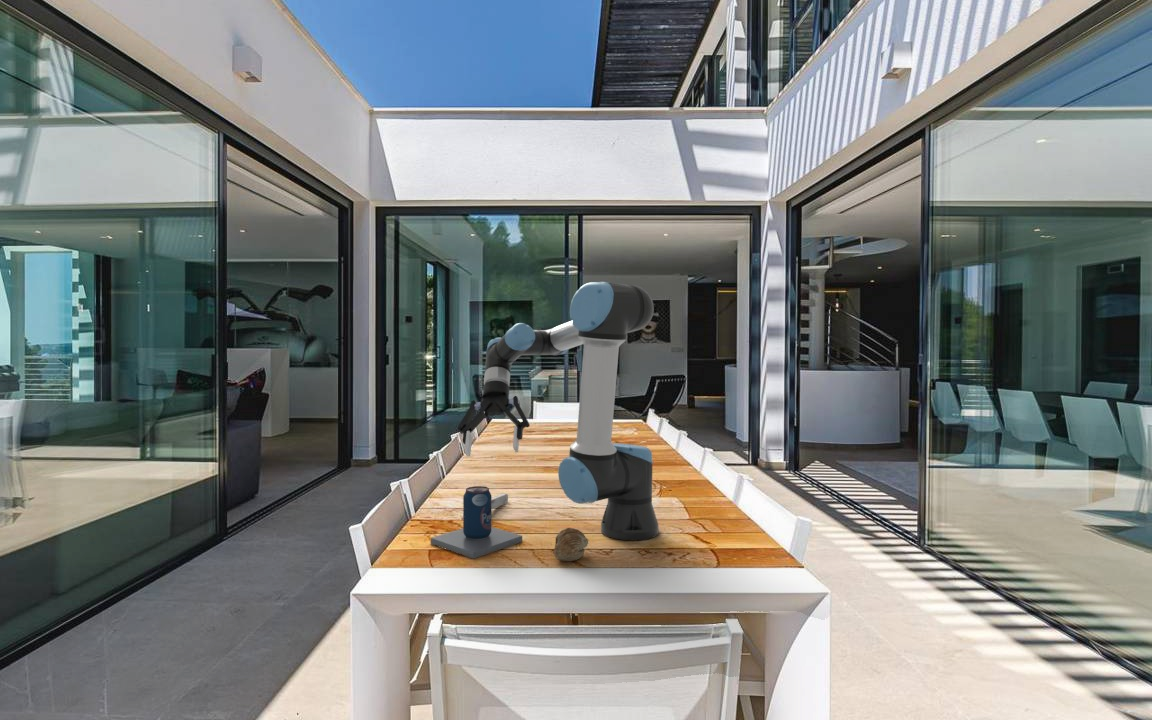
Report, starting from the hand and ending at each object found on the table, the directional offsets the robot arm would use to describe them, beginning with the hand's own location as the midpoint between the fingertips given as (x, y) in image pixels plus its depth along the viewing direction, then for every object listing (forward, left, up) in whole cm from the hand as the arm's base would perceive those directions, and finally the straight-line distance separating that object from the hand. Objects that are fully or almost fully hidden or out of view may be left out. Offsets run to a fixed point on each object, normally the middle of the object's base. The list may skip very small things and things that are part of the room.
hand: (491, 452), depth 167 cm
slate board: (-8, +12, -20) cm, 25 cm away
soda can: (-8, +12, -19) cm, 23 cm away
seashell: (-33, +5, -20) cm, 39 cm away
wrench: (+9, -7, -21) cm, 24 cm away
